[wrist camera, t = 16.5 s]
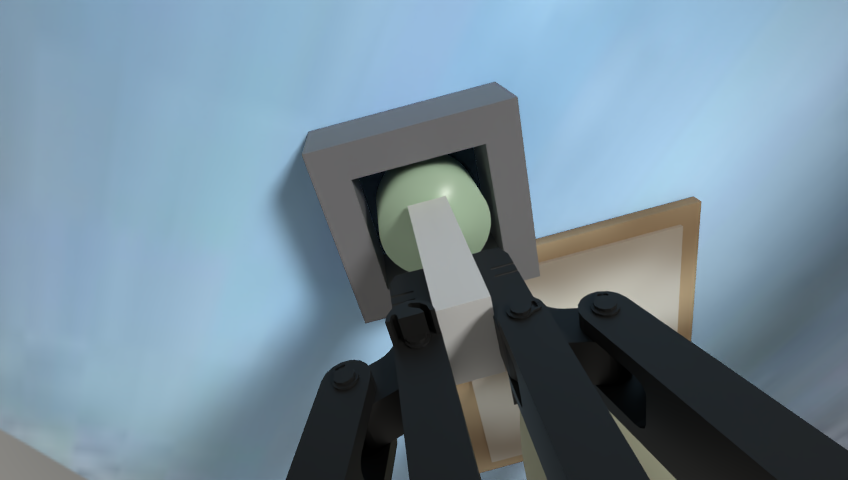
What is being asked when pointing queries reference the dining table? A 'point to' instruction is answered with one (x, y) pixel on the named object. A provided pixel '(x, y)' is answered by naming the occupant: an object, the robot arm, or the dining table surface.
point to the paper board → (587, 273)
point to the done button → (425, 185)
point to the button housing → (413, 142)
